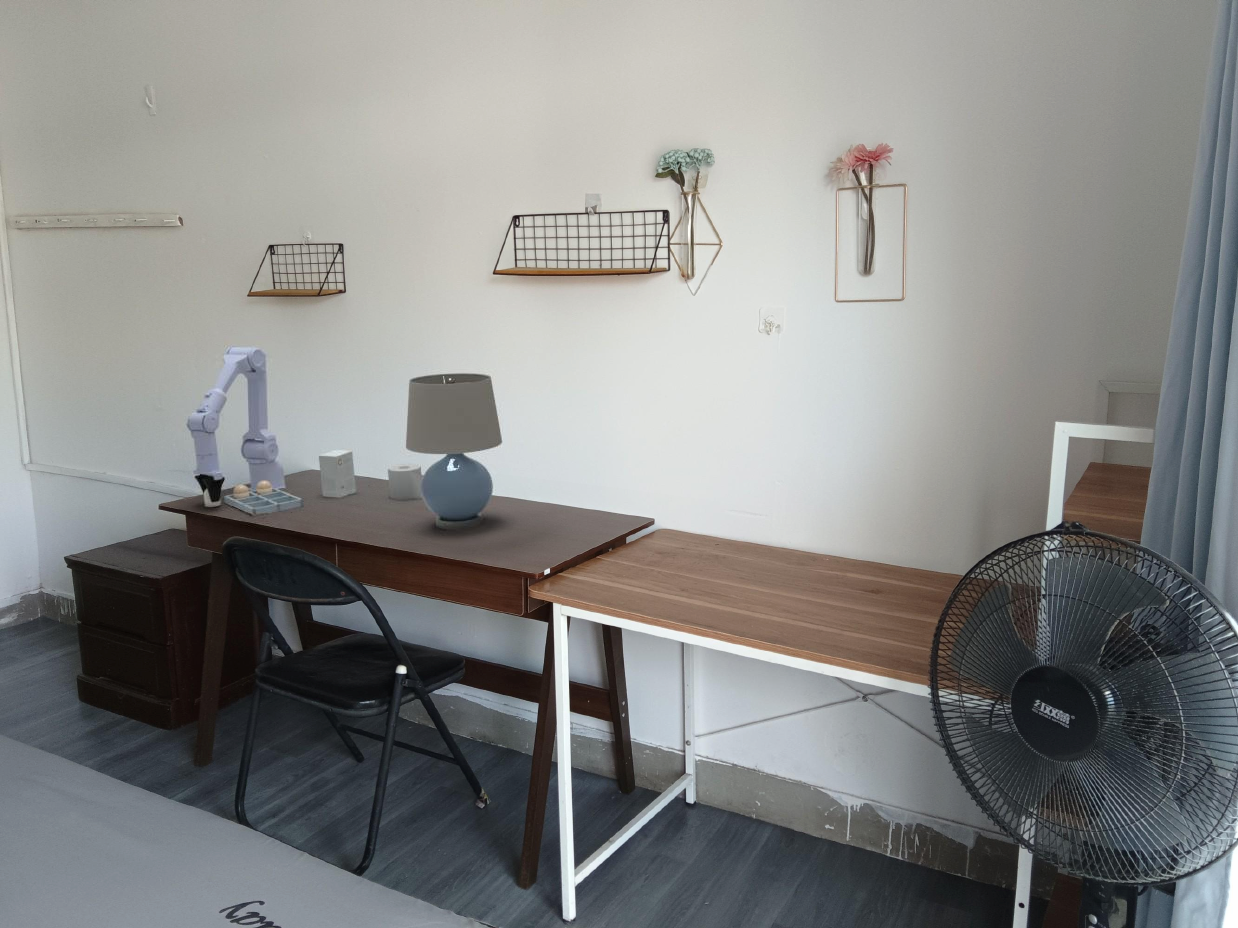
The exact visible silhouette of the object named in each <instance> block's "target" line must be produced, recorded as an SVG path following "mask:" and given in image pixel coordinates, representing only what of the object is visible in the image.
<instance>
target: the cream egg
mask: <svg viewBox="0 0 1238 928" xmlns="http://www.w3.org/2000/svg"><path fill="white" fill-rule="evenodd" d="M203 501H204V507H207V508H215V507H219V506H221V505H222V501H221V499H220V501H218V502H211V500H210V497H209V493H208V490H207V489H206V490H205V491H204V495H203Z"/></svg>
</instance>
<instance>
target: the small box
mask: <svg viewBox="0 0 1238 928" xmlns="http://www.w3.org/2000/svg"><path fill="white" fill-rule="evenodd" d="M353 457H354V455H353V451H352V450H345V449H343V450H342V449H334V450H332V451H328V452H326V453H322V454H319V455H318V461H319V469H320V471H319V472H320V480H321V481H320V482H321V491H322V497H325V498H326V497H328V498H337V499H340V498H344V497H345V496H348V495H350V494H351V495H353V494H356V493H357V488H356V486H357V485H356V478H355V467H354V466H355V465H354V458H353Z"/></svg>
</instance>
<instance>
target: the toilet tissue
mask: <svg viewBox="0 0 1238 928" xmlns="http://www.w3.org/2000/svg"><path fill="white" fill-rule="evenodd" d="M423 476H424V474H422V466H421V465H419V464H414V463H405V464H396V465H395V464H394V465H392V466H389V467H388V468H387V478H388V488H389V489H388V490H389V497H390V498H391V499H392V500H396V501H397V500H398V501H399V500H402V501H403V500H404V501H405V500H415V499H417V500H418V499H423V497H422V493H421V483H422V479H423Z"/></svg>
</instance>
